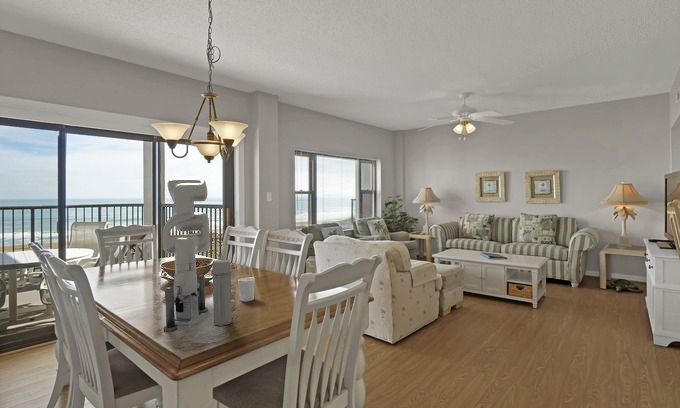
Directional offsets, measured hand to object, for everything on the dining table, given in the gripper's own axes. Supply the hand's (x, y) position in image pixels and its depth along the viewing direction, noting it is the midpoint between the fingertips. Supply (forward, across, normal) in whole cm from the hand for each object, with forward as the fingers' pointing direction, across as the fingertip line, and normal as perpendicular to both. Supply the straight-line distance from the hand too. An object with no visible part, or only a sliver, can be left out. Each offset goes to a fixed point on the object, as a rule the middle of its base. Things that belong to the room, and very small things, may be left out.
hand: (187, 308), depth 148 cm
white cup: (+5, -30, +12) cm, 33 cm away
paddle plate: (+5, 0, 0) cm, 5 cm away
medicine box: (+4, 0, 0) cm, 4 cm away
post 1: (+5, +10, 0) cm, 12 cm away
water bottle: (+5, +2, +17) cm, 18 cm away
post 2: (+5, -10, 0) cm, 12 cm away
